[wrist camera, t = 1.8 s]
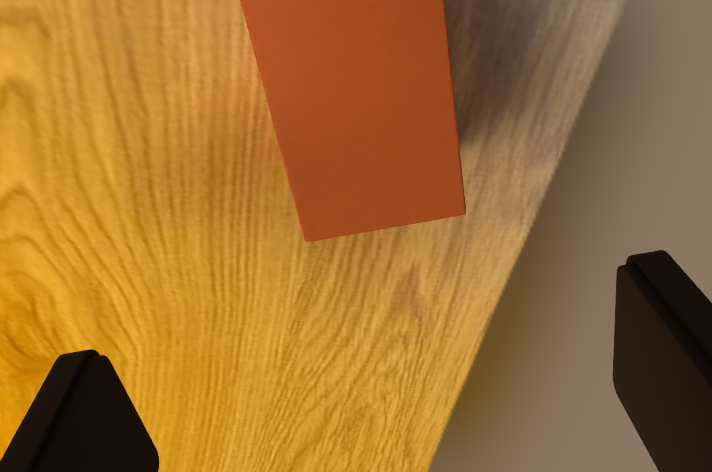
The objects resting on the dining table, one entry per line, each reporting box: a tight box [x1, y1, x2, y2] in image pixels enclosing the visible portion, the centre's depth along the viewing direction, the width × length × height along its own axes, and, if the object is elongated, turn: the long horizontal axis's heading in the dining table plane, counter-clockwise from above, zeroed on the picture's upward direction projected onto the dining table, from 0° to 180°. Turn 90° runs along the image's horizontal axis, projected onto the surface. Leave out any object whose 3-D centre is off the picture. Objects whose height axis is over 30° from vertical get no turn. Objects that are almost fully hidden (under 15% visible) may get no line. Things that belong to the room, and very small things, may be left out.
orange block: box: [240, 0, 466, 242], centre depth 22 cm, size 6×10×5 cm, turn 10°
